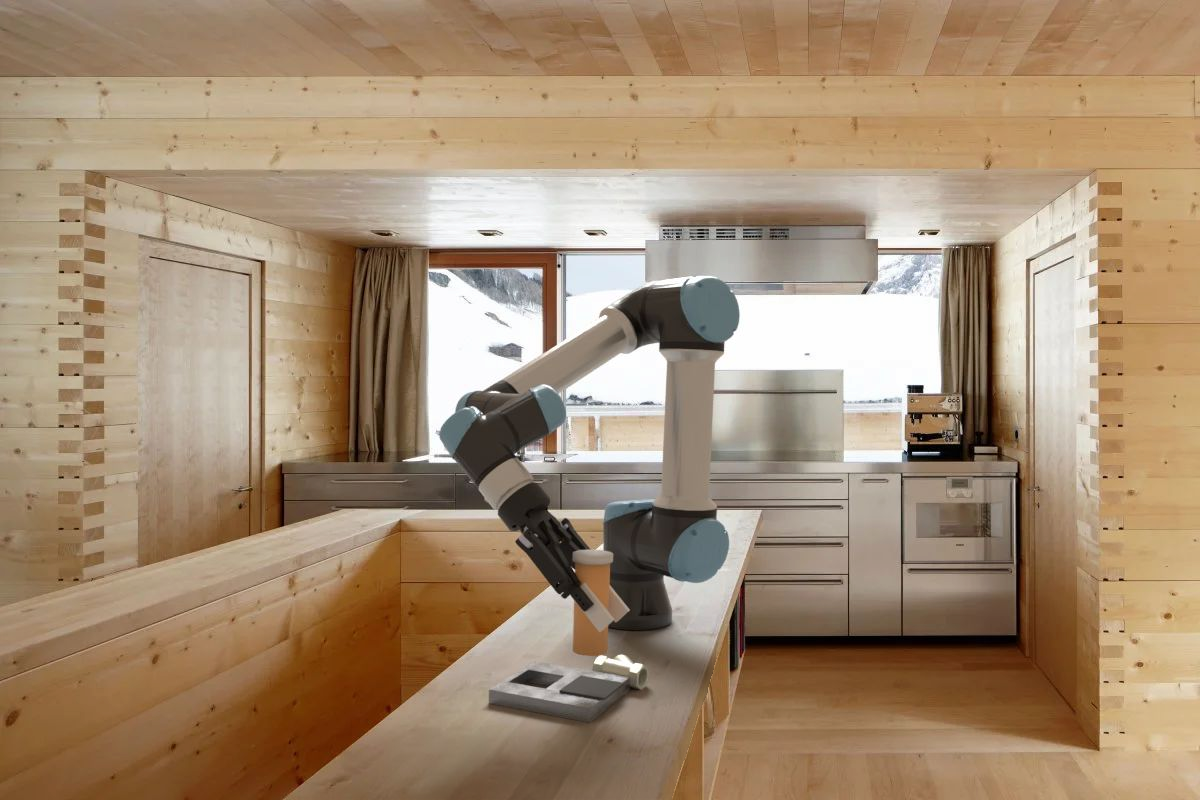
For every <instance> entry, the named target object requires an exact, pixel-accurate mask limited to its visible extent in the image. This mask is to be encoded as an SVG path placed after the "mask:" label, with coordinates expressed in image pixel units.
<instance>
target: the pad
mask: <svg viewBox="0 0 1200 800" xmlns="http://www.w3.org/2000/svg"><path fill="white" fill-rule="evenodd" d="M623 685H624V683H622V682H616V681H610V680H604V679H598V678H592V677H586V676H581V675H580V676H579V677H578V678H576V679H575V680H573V681H572V682H571V683H569V684H568V685H566V686H565V687H563V688H562V689H561V690H560V691H559V692H560V693H566V694H572V695H577V696H583V697H589V698H594V699H600V700H606V699H607V698H608V697H609V696H611V695H612V694H613V693H614V692H616V691H617V690H618V689H619V688H621V687H622V686H623Z"/></svg>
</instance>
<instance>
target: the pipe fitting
mask: <svg viewBox="0 0 1200 800" xmlns="http://www.w3.org/2000/svg"><path fill="white" fill-rule="evenodd" d="M592 665H593V666H592V671H596V672H602V673H608V674H614V675H620V676H626V677H630V683H629V685H630V688H632V689H635V690H640V691H642V690H643V689H645V687H646V686H647V684H648V680H649V674H650V673H649V668H648V667H647V666H646V665H644V664H642V663H637V662H635V663H634V662H633V661H632V659H630V658H629V656H628V655H625V654H618V655H616V656H614V658H610V657H609V656H606V655H598V656H597V657H596V658H595V660H594V662H593V664H592Z"/></svg>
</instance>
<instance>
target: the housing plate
mask: <svg viewBox="0 0 1200 800" xmlns="http://www.w3.org/2000/svg"><path fill="white" fill-rule="evenodd" d="M580 675H581V676H586V677H592V678H598V679H604V680H610V681H616V682H622V683H624V685H623V686H622V687H621V688H619V689H618V690H617V691H616V692H614V693H613V694H612V695H611V696H609V697H608V698H607V699H606V700H600V699H594V698H589V697H583V696H577V695H572V694H566V693H560V692H559V691H560V690H561V689H562V688H563V687H565V686H566V685H568V684H569V683H571V682H572V681H573V680H575V679H576V678H578V677H579V676H580ZM528 683H529V684H535V685H539V686H545V687H546V688H543V687H537V686H531V685H528ZM629 683H630V677H626V676H620V675H614V674H608V673H602V672H596V671H593V670H589V669H582V668H577V667H570V666H564V665H559V664H552V663H546V662H540V661H534V662H532V663H530V664H528V665H527V666H525V667H524V668H522V669H520V670H519V671H517V672H515V673H514V674H511V675H510V676H509V677H507V678H506V679H504V680H502V681H501V682H499V683H498V684H496V685H494V686H492V687H490V688H489V689H488V704H491V705H496V706H501V707H506V708H511V709H517V710H521V711H528V712H533V713H539V714H544V715H549V716H554V717H559V718H565V719H568V720H569V719H571V720H575V721H580V722H585V723H593V721H594V720H596V719H597V718H598V717H599V716H601V714H603V713H604V712H605V711H606V710H608V709H609V708H610V707H611V706H613V705H614V704H615V703H616V702H617V701H619V700H620V699H621V698H622V697H624V696H625V695H626V694H627V693H628V692H629V691H630V688H631V687H630V685H629Z"/></svg>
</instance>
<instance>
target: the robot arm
mask: <svg viewBox="0 0 1200 800" xmlns="http://www.w3.org/2000/svg"><path fill="white" fill-rule="evenodd" d="M740 318H741V317H740V307H739V302H738V298H737V297H736V295H735V292H734V291H732V290H731V288H730V286H729V285H728V284H727V283H726V282H725V281H724V280H722V279H720V278H719V277H716V276H711V275H690V276H686V277H685V276H683V277H677V278H669V279H658V280H653V281H650V282H648V283H645V284H643V285H641V286H639V287H637V288H635V289H634V290H632V291H630V292H629V293H627V294H625V295H623V296H622V297H620V298H619V299H617V300H616V301H614V302H613V303H611V304H609V305H608V306H606V307H604V308H603V309H602V310H601V311H600V313H599V316H598V319H595V320H594V321H593V322H590V324H588V325H586V326H584V327H583V328H581V329H579V330H578V331H576V332H575V333H573V334H572V335H571V336H569V337H567V338H565V339H564V340H563V341H561V342H559V343H558V344H556V345H554V346H553V347H552V348H550V349H549V350H546V351H545V352H543V353H541V354H540V355H539V356H537V357H536V358H533V359H532V360H530V361H529V362H527V363H525V364H524V365H522V366H521V367H519V368H518V369H516V370H515V371H513V372H512V373H510V374H508V375H507V376H505V377H504V378H502V379H501V380H499V381H497V382H495V383H493V384H491V385H489V386H488V387H486V388H485V389H484V390H474V391H470V392H467V393H465V394H464V395H462V396H461V397H460V398H459V400H458V402H457V403H456V406H455V410H454V413H452V414H451V415H450V416H449V417H448V418H447V419H445V421H444V422H443V424H442V425H441V427H440V430H439V434H438V435H439V440H440V442H441V443H442V444H443V446H444V448H445V449H446V450H447V451H446V452H448V454H449V456H450V457H451V459H452V460H454V461H455V463H456V464H457V465H458V466H459V467H460V469H461V470H462V471H463V472H464V473H465V474H466V476H467V477H468V479H469V480H470V481H471V483H472V484H473V485H474V486H475V488H476V489H477V490H478V491H479V492H480V494H481V495H482V496H483V497H484V498H483V499H484V501H485V502H486V503H488V504H489V505H490V506H491V508H492V509H493V510H494V511H497V515H498V517H499V519H500V520H501V521H502V522H503V524H505V526H506V527H507V529H508V530H509V531H511V532H518V531H520V533H521V535H519V537H518V538H516V540H515V541H514V542H515V544H516V545H517V546H518V547H519V548H520V549H521V550H522V551H523V552H524V553H526V555H527V556H528V558H529V559H530V560H531V561H532V563H533V564H534V566H535V567H536V568H537V569H538V570H539V571H540V573H541V574H542V575H543V577H544V578H545V579H546V582H548V584H549V585H550V586H551V588H552V589H553V590H554V591H555V592H556V594H558V595H560V597H561V598H562V599H564V600H565V599H567V598H568V597H569V596H570V597H571V598H572V599H573V602H574V601H575V602H576V603H577V605H578V606H579V607H580V608H581V610H582V611H583V612H584V613H585V615H586V616H587V617H588V618H589V620H590V621H591V622H592V624H593V625H594V626H595V627H596V629H597V630H598V631H599V632H601V631H602V630H604V629H605V628H606V627H607V626H608V628H610V629H616V630H625V631H626V630H627V631H645V630H646V631H647V630H655V629H656V630H657V629H659V628H664V627H666V626H668V625H670V624H671V623H672V621H673V607H672V605H671V601H670V597H669V595H668V590H667V587H666V584H665V580H664V579H665V578H664V577H668V578H671V579H674V580H675V581H678V582H683V583H684V582H687V583H691V584H700V583H704V582H707V581H708V580H711V579H712V578H713V577H714V576H716V575H717V573H718V571H720V570H721V569H722V567H723V566H724V563H725V562H726V560H727V556H728V553H729V550H730V537H729V533H728V530H726V526H725V525H724V524H723V523H722V522H720V520H717V519H718V518H717V516H718V505H717V504H716V503H715V502H714V501H713V500H712V499H711V497H710V482H711V460H712V440H713V439H712V437H713V436H712V435H713V419H714V418H713V416H714V392H715V375H716V374H715V372H716V370H715V369H716V362H717V361H718V360H719V359H720V358H721V357H722V356H723V355H725V342H727V341H728V340H730V339H731V338H732V337H733V336H734V334H735V332H737V329H738V327H739V324H740ZM653 344H659V345H658V347H659V348H658V352H659V353H660V354H661V355H662V356H663V358H664V359H665V360H666V374H665V375H666V377H665V378H666V379H665V397H664V398H665V401H664V421H663V423H664V424H663V444H662V445H663V447H662V465H661V467H662V468H661V488H660V489H661V490H660V494H659V496H658V497H656V498H655V499H654V498H652V499H651V498H650V499H649V498H648V499H632V500H631V499H629V500H620V501H619V500H618V501H612V502H610V503H608V504H607V505H606V506H605V508H604V514H603V521H602V526H603V533H602V534H603V540H602V541H603V543H602V544H603V550H604V551H609V552H611V553H613V562H612V563H610V586H609V612H608V610H607V609H606V608H605V607H604V605H603V604H602V603H601V602H600V600H599V599H598V598H597V597H596V595H595V594H594V593H593V592H592V590H591V589H590V588H589V587H588V585H587V584H586V583H584V584H582V585H581V582H580V580H579V579H578V577H577V575H576V574H575V562H574V561H573V552H574V551H578V550H592V549H591V548H590V547H589V546H588V544H587V543H586V542H585V541H584V539H583V538H582V536H581V535H579V534H578V532H577V531H576V530H575V528H574V526H573V525H572V523H571V521H570V520H569V518H567V517H563V519H562V520H561V521H560V520H558V519H557V517H556V516H554V515H553V514H552V513H551V512H550V511H549V510H548V507H549V506H550V503H551V499H550V496H548V494H547V493H546V492H545V490H544V489H543V488H542V487H541V486H540V484H539V483H538V482H534V476H533V475H532V474H531V473H530V471H529V470H528V469H527V467H525V465H524V464H523V463H522V462H521V460H520V459H519V458H518V457H517V455H516V454H517V453H518V452H520V451H522V450H524V449H525V448H528V447H529V446H530V445H532V444H534V443H536V442H537V441H539V440H540V439H543V438H544V437H546V436H549V435H551V434H552V433H553V432H554V431H555V430H557V429H559V428H560V427H561V426H563V425H564V423H565V422H566V420H567V418H566V417H567V409H566V406H565V404H564V401H563V399H562V397H561V395H560V394H561V393H562V392H564V391H565V390H566V389H569V387H572V386H574V384H576V383H577V382H579V381H580V380H582V379H583V378H585V377H587V376H588V375H589V374H591V373H593V372H594V371H596V370H597V369H599V368H601V367H602V366H603V365H605V364H606V363H608V362H609V361H611V360H612V359H614V358H616V357H617V356H619V354H620V355H621V354H623V355H624V354H625V355H628V354H631V353H633V352H634V351H636V350H637V349H639V348H641V347H644V346H648V345H653ZM580 585H581V586H580Z"/></svg>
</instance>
